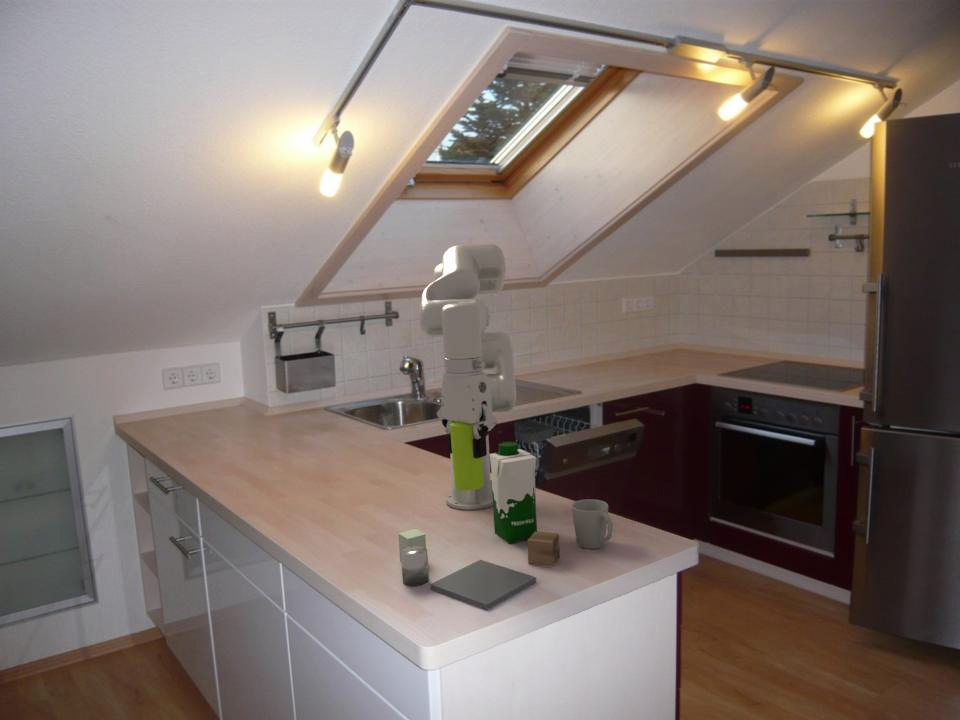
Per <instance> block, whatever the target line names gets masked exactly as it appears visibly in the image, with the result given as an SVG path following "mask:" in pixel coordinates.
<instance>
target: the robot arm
mask: <svg viewBox="0 0 960 720" xmlns="http://www.w3.org/2000/svg"><path fill="white" fill-rule="evenodd" d="M506 268H507V267H506V258H505V255H504V252H503V250H502V249H501V247H499V245H497V244H494V243H476V244H473V243H472V244H458V245H454V246H452V247H450V248H448V249H447V250H446V251H445V252H444V254H443V256H442V260H441V262H440V263H439V264H438V265H436V267H435V268H434V270H433V282H431V283H430V284H428V286H426V288H424V290H423V292H422V293H421V296H420V305H419V326H420V328H421V331H422V332H423V333H424V335H426V336H427V337H429V338H430V337H431V338H439V337H440V338H442V343H443V344H442V345H443V364H444V372H443V374H442V382H441V383H442V384H441V407H440V408H439V409H438V411H437V412H436V415H437V417H438V419H439V420H440V421H441V424H442V426H443V427H444V429H445V433H446V434H447V435H448V450H449V451H448V452H449V454H450V456H449V457H450V472H451V489H452V490H451V491H452V492H451V493H450V494H448V495H447V497H446V499H445V501H446V505H447V506H449V507H451V508H453V509H456V510H463V511H465V510H466V511H467V510H468V511H470V510H471V511H472V510H481V509H482V510H483V509H486V508H490V507H491V506H492V507H493V491H492V479H491V463H490V444H489V443H490V441H489V434H490V432H492V430H493V428H494V427H495V426H496V425H497V424H498V420H497V418H496V417H495V415H494V414H503V413H504V414H505V413H509V412H512V411H513V410H514V409H515V407H516V404H517V385H516V383H517V382H516V373H515V359H514V357H515V356H514V350H513V347H514V346H513V344H512V340H511V337H510V336H509V334H508V333H506V332H504V331H498V330H497V331H486V330H487V327H489V326H490V323H491V322H490V321H491V317H490V315H491V314H490V308H489V307H488V305H487V304H486V303H485V302H484V301H483V300H481V299H479V298H476V297H477V296H478V295H490V294H498V293H499V292H501V291H502V290H503V289H504V286H505V282H506ZM485 371H493V372H494V373H487V372H485ZM457 420H460V422H462V423H466V424H471V425H472V429H473V432H474V435H475V438H474V439H473V454H474V458H476V459H478V458H481V457H482V466H483V479H484V486H483V487H481V488H479V489H475V490H458V489H456V488H455V483H454V471H453V458H452V445H451V432H450V423H451V422H456V421H457ZM478 425H480V431H479V428H478Z"/></svg>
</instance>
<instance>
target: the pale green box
mask: <svg viewBox="0 0 960 720" xmlns="http://www.w3.org/2000/svg"><path fill="white" fill-rule="evenodd" d="M411 546H422V547H425V548H426V549H427V539H426V533H425V532H422V531H420V530H419V529H417V528H413V529H410V530H406V531H402V532H399V533H398V547H399V548H398V549H399V562H401V563H402V561H401V551H402V550H403V549H404V548H407V547H411Z"/></svg>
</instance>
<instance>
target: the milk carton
mask: <svg viewBox="0 0 960 720" xmlns="http://www.w3.org/2000/svg"><path fill="white" fill-rule="evenodd" d="M489 460H490V473H491V480H492V491H493V505H492V511H493V513H492V514H493V525H494V527H493V528H494V534H495V535H496V536H498V537H499V538H501V539H502V541H504V542H506V543H507V544H513V543H519V542H522V541H527V540H528V539H529V538H530V537H531V536H532V534H533V533H534V532H535V531H537V532H538V524H537V523H538V520H537V502H536V501H537V500H536V499H537V498H536V496H537V495H536V476H535V475H536V465H537V456H534V454H533V455H532V453H529V452H527V451H526V450H523V449H521V448H518V444H517V442H515V441H503V442H500V443H499V444H498V452H494V453H493V452H492V453H489Z"/></svg>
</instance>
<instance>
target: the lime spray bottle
mask: <svg viewBox="0 0 960 720" xmlns="http://www.w3.org/2000/svg"><path fill="white" fill-rule="evenodd" d="M478 428H479V431H480V425H478ZM450 432H451V445H452V458H453V471H454V483H455V488H456V489H458V490H475V489H479V488H481V487H483V486H484V479H483V466H482V457H481V458H478V459H476V458H474V454H473V439H474V438H475V435H474V432H473V429H472V425H471V424H466V423H462V422H460V420H457V421H456V422H451V423H450Z"/></svg>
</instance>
